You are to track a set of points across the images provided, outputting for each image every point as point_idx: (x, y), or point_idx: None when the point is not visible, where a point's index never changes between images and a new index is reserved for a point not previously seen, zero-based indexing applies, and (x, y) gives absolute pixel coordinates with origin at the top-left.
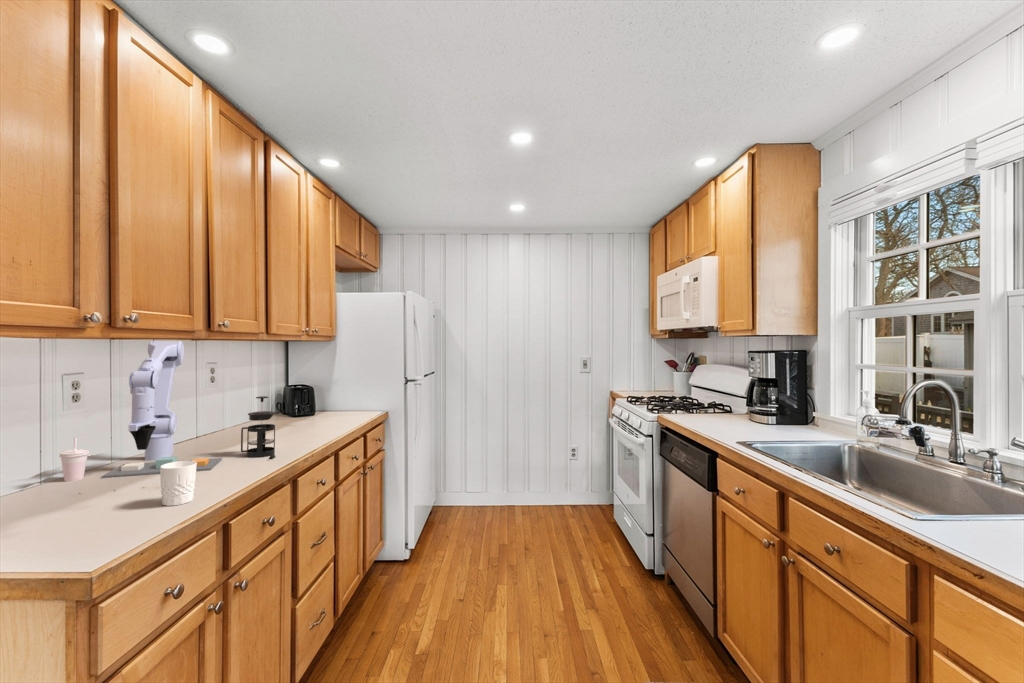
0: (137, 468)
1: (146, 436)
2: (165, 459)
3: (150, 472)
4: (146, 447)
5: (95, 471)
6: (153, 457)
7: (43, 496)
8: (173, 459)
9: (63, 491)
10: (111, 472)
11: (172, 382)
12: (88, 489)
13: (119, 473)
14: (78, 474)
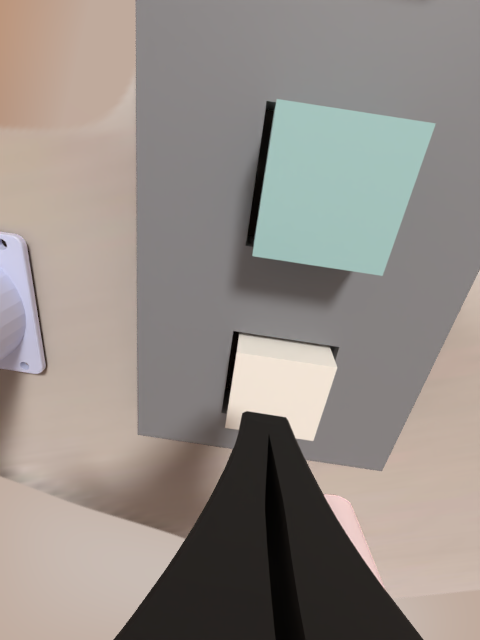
0: (333, 360)
1: (377, 587)
2: (389, 199)
3: (476, 268)
4: (275, 425)
5: (130, 489)
6: (1, 328)
7: (467, 545)
8: (401, 118)
9: (433, 517)
10: (320, 450)
11: None
12: (468, 462)
13: (374, 418)
14: (366, 546)
